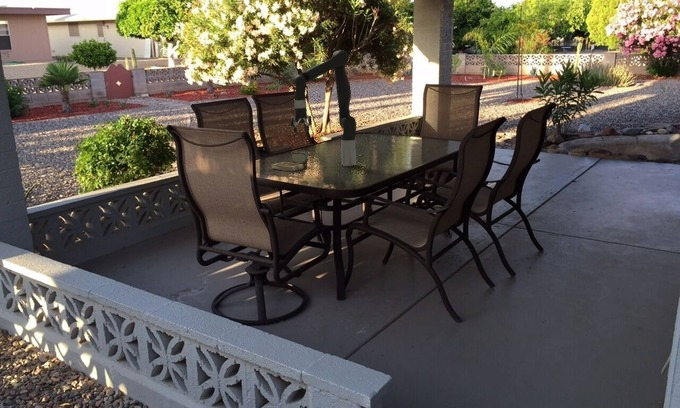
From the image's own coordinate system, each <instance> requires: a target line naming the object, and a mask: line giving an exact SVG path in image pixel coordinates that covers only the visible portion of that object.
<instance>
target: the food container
mask: <svg viewBox="0 0 680 408" xmlns="http://www.w3.org/2000/svg"><path fill="white" fill-rule="evenodd" d="M290 155H291V158H292V163H297V164H304V168H306V167H307V159H308V156H309V154H308V151H307V150H292V151H291V153H290Z"/></svg>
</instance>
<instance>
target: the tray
mask: <svg viewBox="0 0 680 408" xmlns="http://www.w3.org/2000/svg"><path fill="white" fill-rule="evenodd" d="M271 169H272V170H277V171H284V172H296V171H301V170H304V169H305V167H304V164H297V163H293V162H287V161H282V162H277V163H272V164H271Z"/></svg>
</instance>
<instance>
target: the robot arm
mask: <svg viewBox="0 0 680 408" xmlns="http://www.w3.org/2000/svg"><path fill="white" fill-rule="evenodd" d="M349 60H350V54H349V53H348V52H347V51H345V50H336V51H334V52H333V54H332V56H331V58H329V59H328V60H326V61H324V62H321V63H319V64H315V65H314V66H311V67H310V68H309V69H307V70H305V71H303V72H301V73H299V74H296V75H295V76H294V77H293V79H292V84H293V85H294V86H295V91H294V94H293V95H294V116H290V125H289V126H290V127H292V128H293V133H294V134H297V133H298V131H297V129H298V128H297V126H298V125H299V124H305V131H306V133H309V132H310V126H312V125H313V123H312V116H311V115H307V112H308V111H307V101H306V89H307V83H308V82H310V81H314V80H315V79H317V78H319V77H320V76H323V75H324V74H326V73H327V72H330V71H331V70H334V76H335V77H334V78H335V87H336V88H335V89H336V96H337V103H338V119H339V120H338V121H339V122H338V123H339V126H340V127H341V129H342V130H343V131H342V135H340V136H341V137H340V138H341V140H340V142H341V143H340V145H341V146H340V147H341V148H340V149H341V166H342V165H343V167H354V166H356V165H357V151H356V136H357V120H356V119H355V117H354V116H352V115H351V112H350V104H351V98H352V91H351V84H350V80H349V78H348V75H347V73H346V65H347V64H348V62H349ZM355 164H356V165H355ZM353 165H354V166H353Z"/></svg>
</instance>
